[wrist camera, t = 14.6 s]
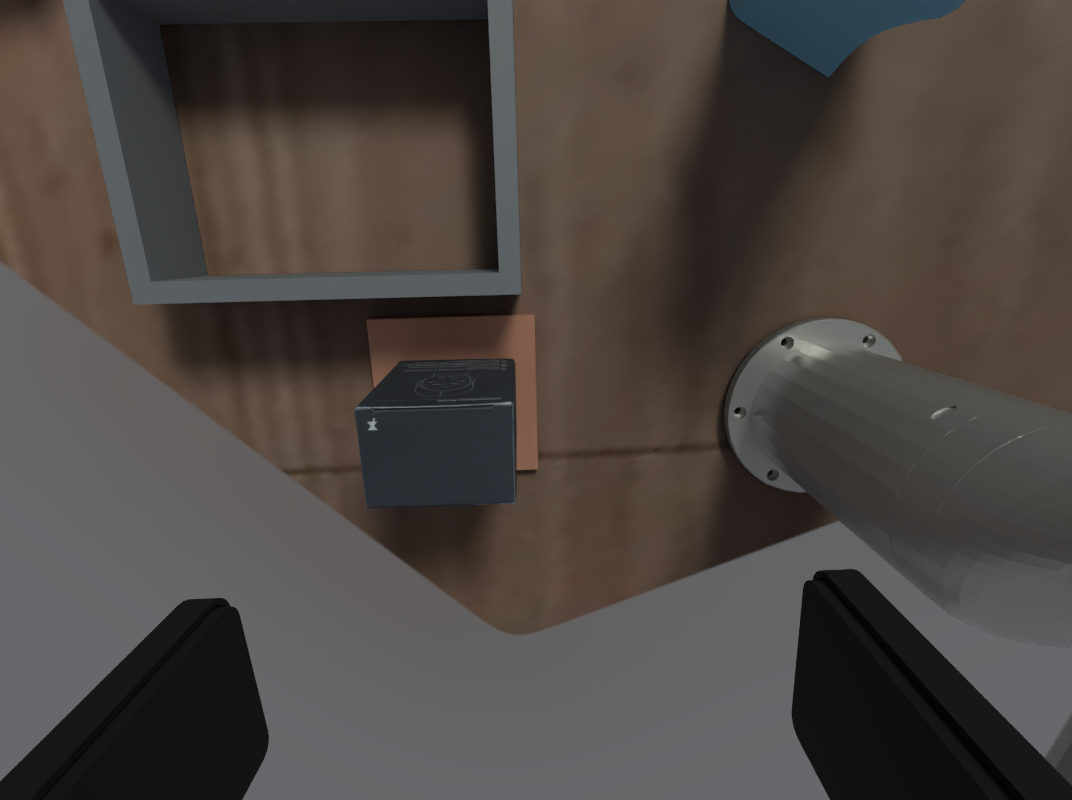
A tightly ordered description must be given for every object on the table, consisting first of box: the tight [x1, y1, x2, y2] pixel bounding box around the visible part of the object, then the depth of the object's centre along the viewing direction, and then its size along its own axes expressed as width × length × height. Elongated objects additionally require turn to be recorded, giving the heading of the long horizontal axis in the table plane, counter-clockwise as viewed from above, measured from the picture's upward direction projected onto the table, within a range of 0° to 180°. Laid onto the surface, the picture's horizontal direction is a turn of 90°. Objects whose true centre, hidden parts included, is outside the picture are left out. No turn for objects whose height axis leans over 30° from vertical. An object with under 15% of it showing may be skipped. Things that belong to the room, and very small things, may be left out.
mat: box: [366, 314, 538, 470], centre depth 37 cm, size 11×11×1 cm
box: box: [355, 358, 517, 508], centre depth 31 cm, size 8×6×11 cm
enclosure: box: [63, 0, 521, 305], centre depth 30 cm, size 21×16×6 cm
